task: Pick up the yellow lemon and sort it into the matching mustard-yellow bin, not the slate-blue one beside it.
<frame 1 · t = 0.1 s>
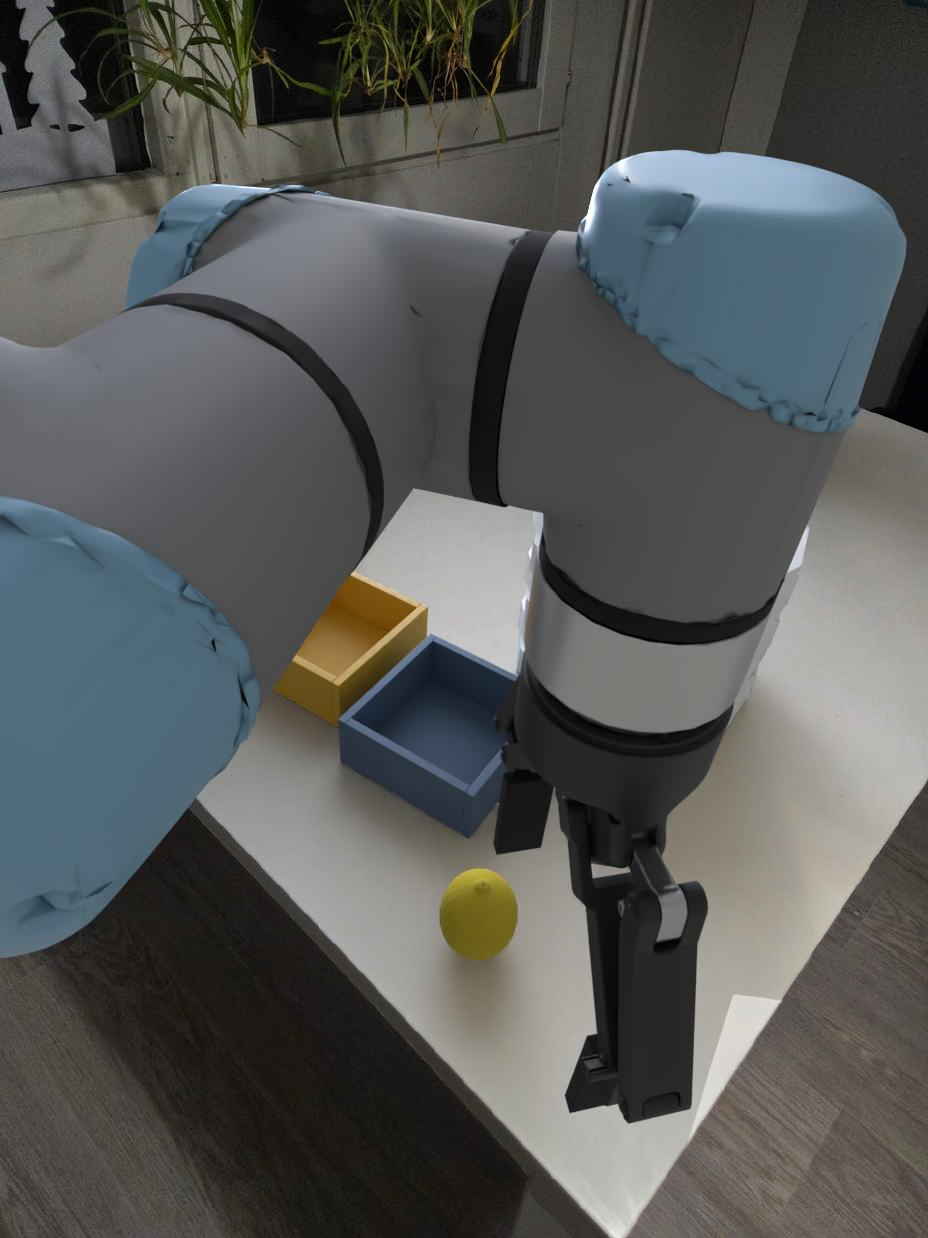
hand: (551, 957, 43), 17 cm above the table, tool pointing down, fingers open, 13 cm apart
yellow bin: (332, 657, 82), on the table
blue bin: (447, 749, 74), on the table
teacup: (170, 596, 88), on the table
vase: (261, 504, 103), on the table
white brick well: (629, 668, 84), on the table
teapot: (439, 366, 136), on the table
planter: (728, 419, 128), on the table
utensil holder: (573, 513, 105), on the table
lemon: (474, 944, 61), on the table
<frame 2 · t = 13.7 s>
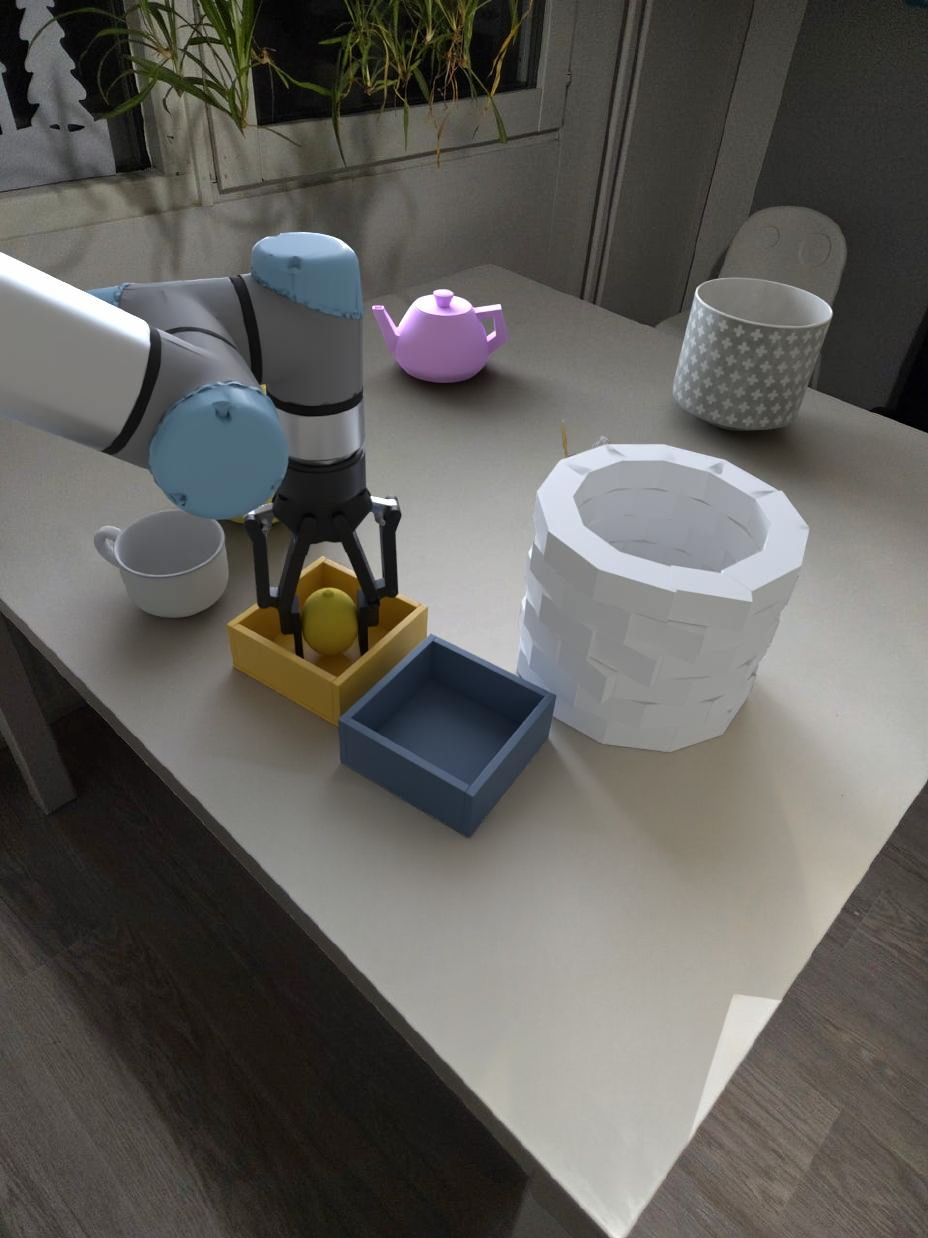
hand: (331, 650, 82), 1 cm above the table, tool pointing down, fingers closed on lemon, 6 cm apart
lemon: (331, 654, 82), resting on yellow bin, touching gripper
everything else where it was.
when the fingers open (1 cm above the table, at t = 14.0 s): lemon stays where it is, resting on yellow bin.
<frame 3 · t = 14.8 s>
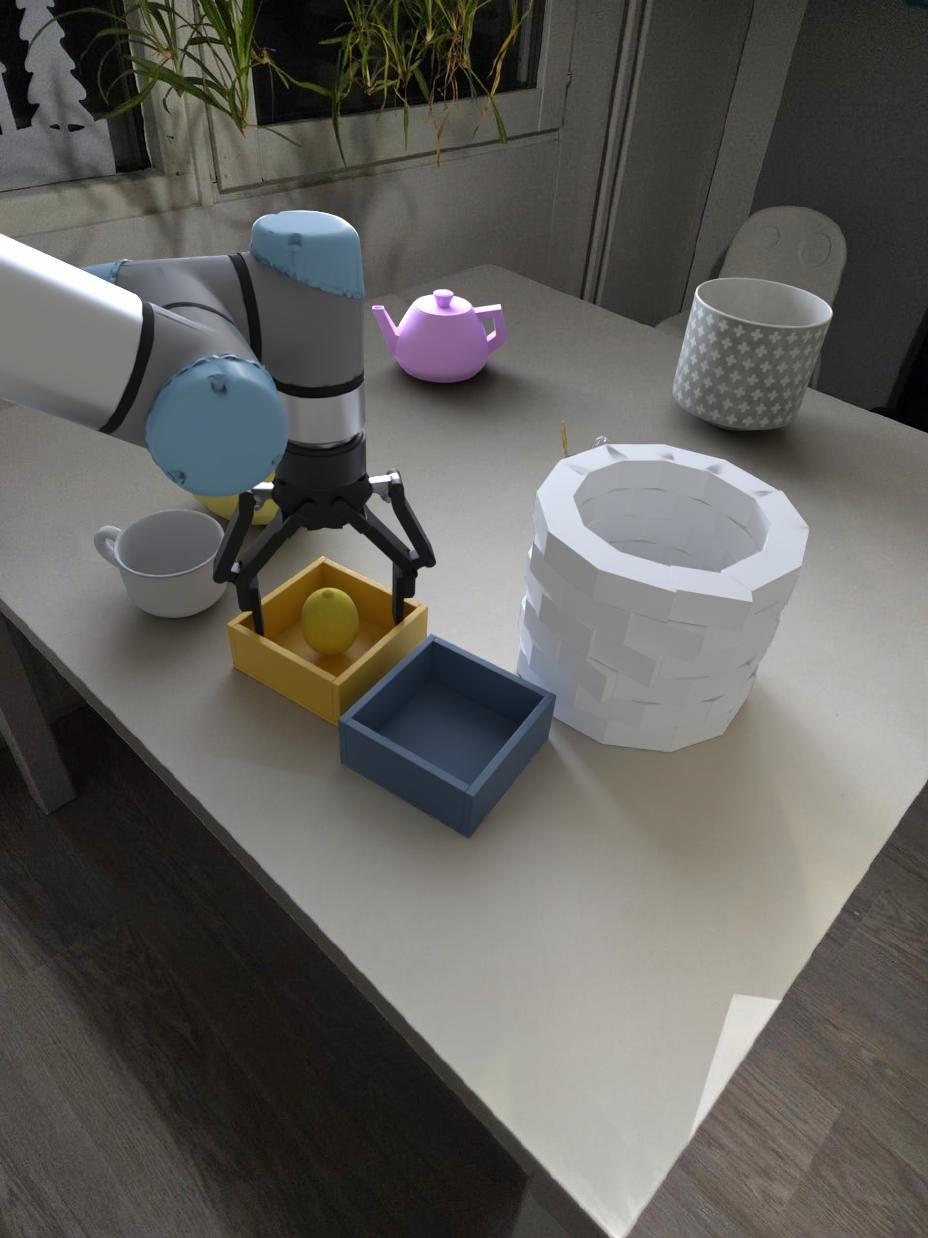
hand: (330, 627, 80), 4 cm above the table, tool pointing down, fingers open, 12 cm apart
lemon: (331, 654, 82), resting on yellow bin
everything else where it was.
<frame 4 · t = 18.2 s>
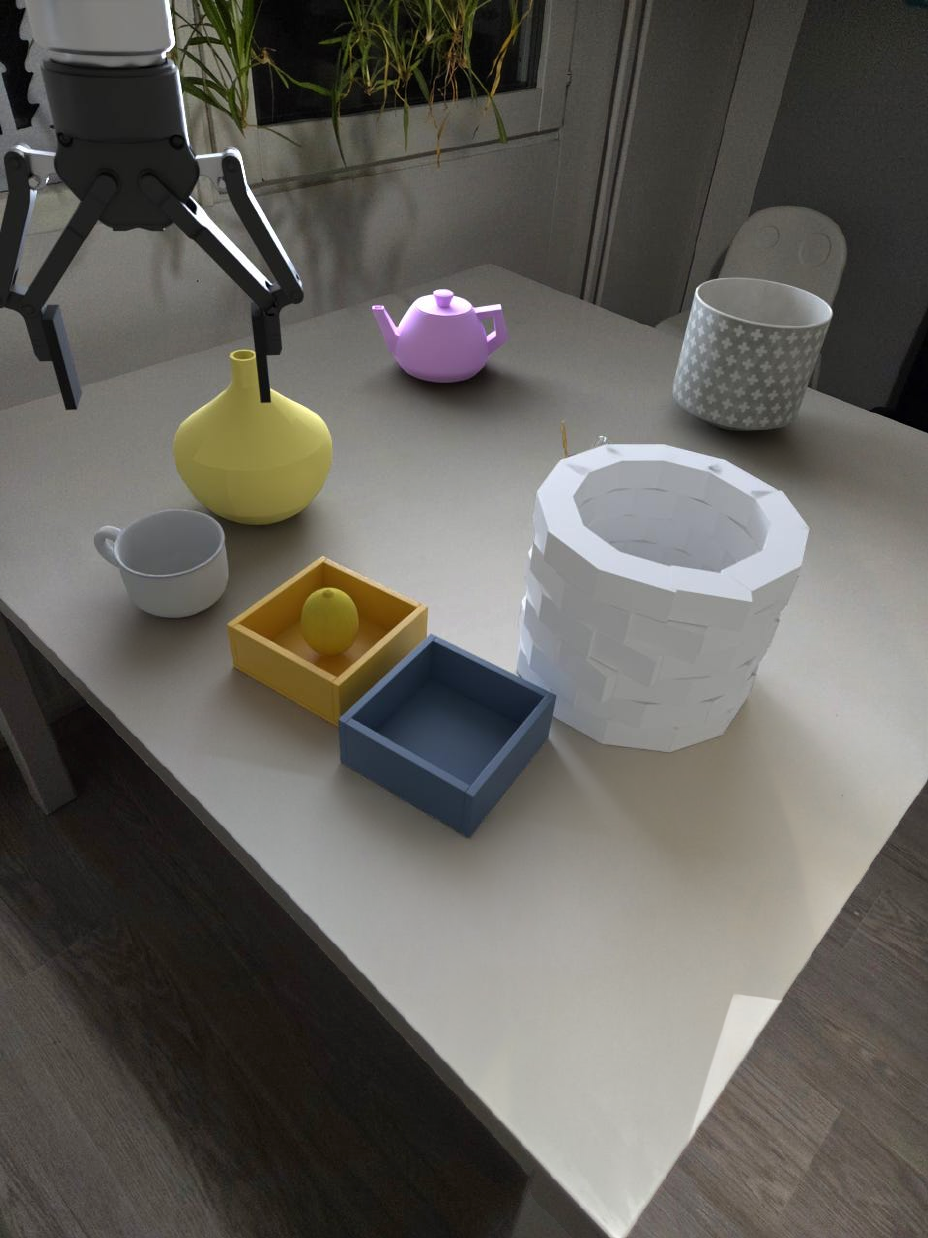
hand: (171, 398, 61), 29 cm above the table, tool pointing down, fingers open, 13 cm apart
nothing on the table moved.
at the end: lemon inside the target area in the yellow bin (0.0 cm from its centre), point 0.4 cm above the yellow bin's base; the gripper is holding nothing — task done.
